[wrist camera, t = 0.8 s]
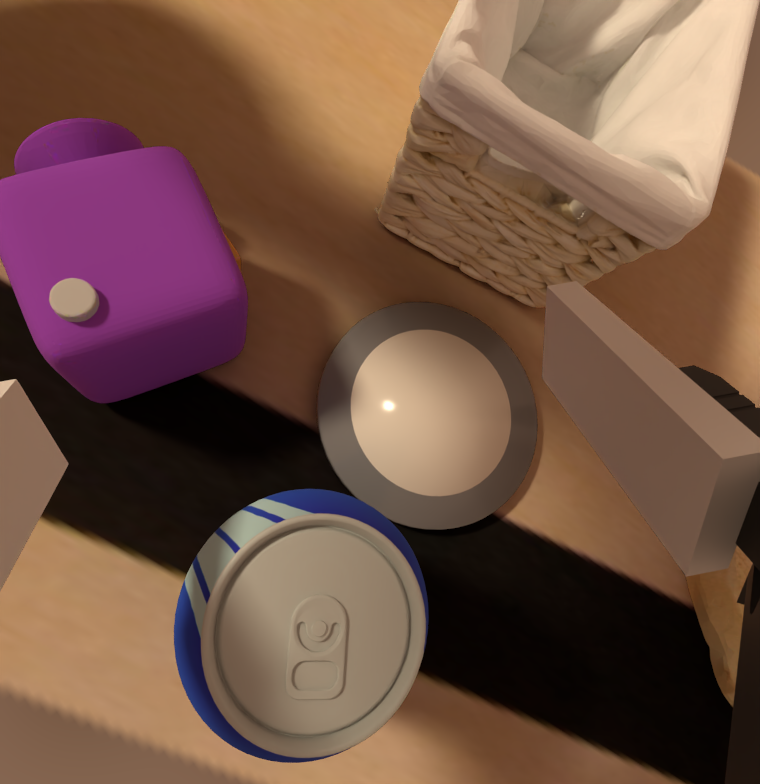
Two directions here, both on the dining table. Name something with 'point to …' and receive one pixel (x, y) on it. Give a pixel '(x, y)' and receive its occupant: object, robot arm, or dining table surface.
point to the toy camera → (118, 260)
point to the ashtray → (722, 616)
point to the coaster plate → (426, 416)
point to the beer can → (301, 625)
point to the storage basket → (568, 135)
